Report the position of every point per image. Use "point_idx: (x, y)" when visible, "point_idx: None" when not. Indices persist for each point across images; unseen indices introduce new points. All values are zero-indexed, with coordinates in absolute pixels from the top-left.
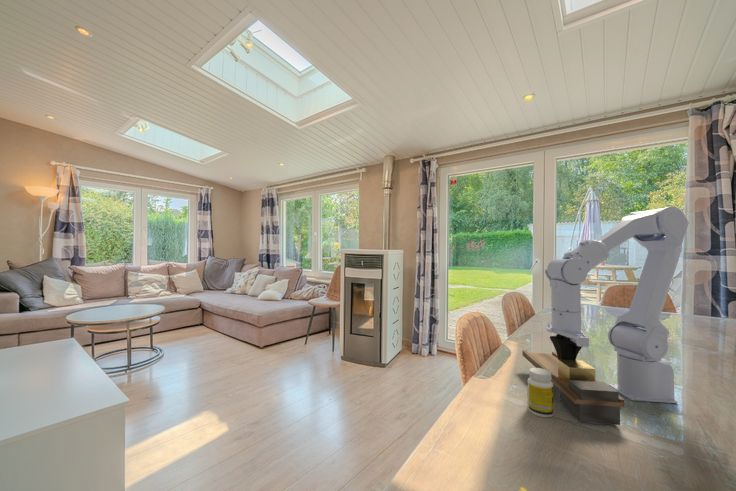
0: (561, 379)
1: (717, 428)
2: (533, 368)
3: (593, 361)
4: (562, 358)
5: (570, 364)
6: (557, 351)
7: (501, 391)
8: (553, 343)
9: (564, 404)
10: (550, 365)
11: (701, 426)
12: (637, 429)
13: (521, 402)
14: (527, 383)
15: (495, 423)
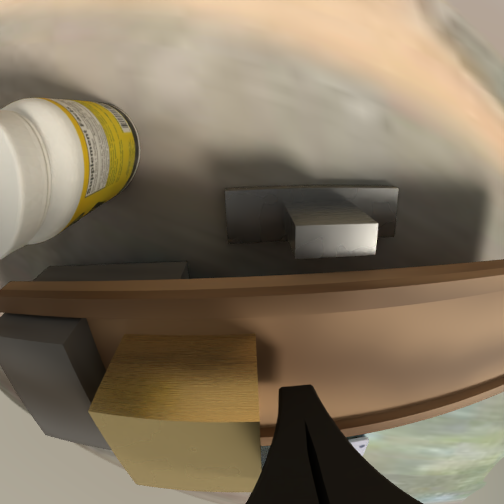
0: (215, 335)
1: None
2: (1, 149)
3: (492, 424)
4: (272, 444)
5: (156, 440)
6: (330, 464)
7: (280, 24)
8: (385, 498)
9: (141, 266)
10: (426, 343)
11: None
12: None
13: (169, 88)
14: (388, 186)
15: (13, 3)
